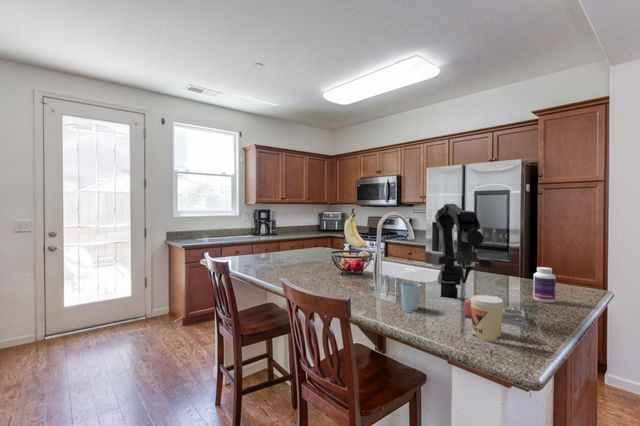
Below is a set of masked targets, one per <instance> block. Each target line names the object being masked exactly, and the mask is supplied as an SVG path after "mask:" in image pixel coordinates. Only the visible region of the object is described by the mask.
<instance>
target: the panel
mask: <svg viewBox="0 0 640 426" xmlns="http://www.w3.org/2000/svg"><path fill="white" fill-rule="evenodd" d="M463 308H464V309H463V317H462V318H464V319H469V320H472V316H466V315H465V306H464V307H463ZM502 324H503V325H511V326H518V327H526V328H530V326H529V324H528V322H527V319H526V314H525V312H524V310H522V309H518V307H515V306H512V307H511V308H509V307H503V315H502Z"/></svg>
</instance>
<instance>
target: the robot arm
mask: <svg viewBox="0 0 640 426" xmlns="http://www.w3.org/2000/svg"><path fill="white" fill-rule="evenodd" d="M436 211H437V212H436V214H435V216H434V219H435V220H434V221H435V222H436V227H437V228H438V229H439V231H440V232H441V234H440V235H441V245H442V255H441V254H440V256H439V257H438V264H440V265H441V267H440V271H439V273H438V276H437V283H438V284H439V285H440V298H447V299H453V300H456V299H457V298H458V297H459V296H458V295H459V293H458V292H459V289H458V287H457V286H461V282H462V284H466V282H467V280H468V277H469V274H470V273H471V271H472V270H473V269H476V268H475V267H476V266H475V265H480V266H481V267H482V268H486V269H487V268H488V269H489V268H492V267H493V266H492V265H493V262H492V259H490V258H488V257H479V259H478V253H477V251H474V250H473V249H474V247H479V246H480V245H482V243H483V241H484V236H483V234H482V233H481V232H480V231H478V230H480V229H481V224H480V222H479V219H478V217H477V214H476V213H475V212H474V211H472V210H464V209H463V208H461V207H459V206H458V205H457V204H455V203H446V204H444V205H443V207H441V208H440V209H437V210H436ZM454 226H455V227H456V253H455V250H454V239H453V228H454ZM463 265H464V266H466V267H465V271H464V266H463ZM464 272H465V273H464Z"/></svg>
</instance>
